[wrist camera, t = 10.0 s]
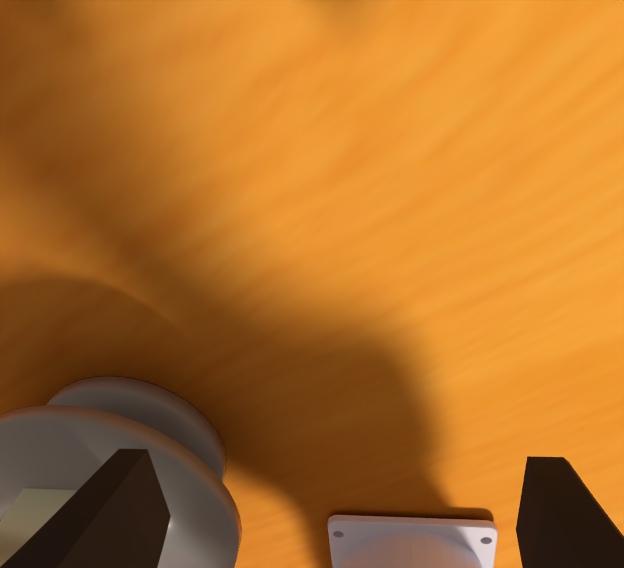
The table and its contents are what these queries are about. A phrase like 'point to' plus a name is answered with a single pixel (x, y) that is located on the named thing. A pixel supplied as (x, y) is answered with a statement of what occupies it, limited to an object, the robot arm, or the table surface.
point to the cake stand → (128, 435)
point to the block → (28, 517)
